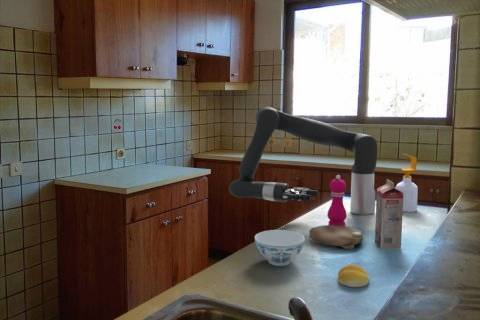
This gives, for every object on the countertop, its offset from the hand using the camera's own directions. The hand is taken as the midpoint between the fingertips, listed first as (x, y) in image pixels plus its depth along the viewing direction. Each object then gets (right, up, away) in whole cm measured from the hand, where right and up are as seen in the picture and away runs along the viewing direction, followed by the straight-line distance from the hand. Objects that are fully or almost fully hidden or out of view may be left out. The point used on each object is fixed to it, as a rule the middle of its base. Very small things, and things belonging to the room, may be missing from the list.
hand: (314, 195), depth 177 cm
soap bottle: (+43, -8, +21) cm, 49 cm away
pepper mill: (+8, -12, -3) cm, 14 cm away
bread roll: (+2, -19, -52) cm, 56 cm away
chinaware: (-17, -17, -38) cm, 45 cm away
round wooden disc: (+4, -14, -20) cm, 25 cm away
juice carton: (+21, -15, -24) cm, 35 cm away
